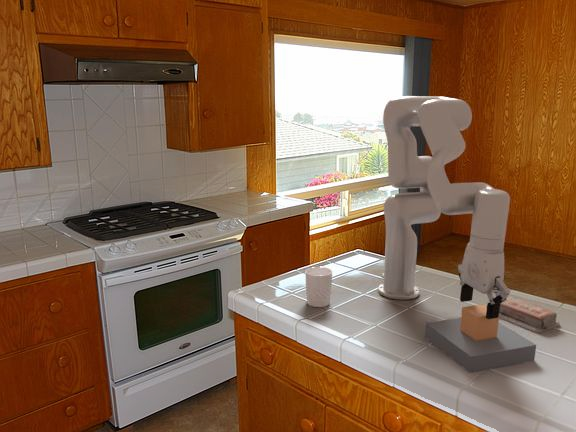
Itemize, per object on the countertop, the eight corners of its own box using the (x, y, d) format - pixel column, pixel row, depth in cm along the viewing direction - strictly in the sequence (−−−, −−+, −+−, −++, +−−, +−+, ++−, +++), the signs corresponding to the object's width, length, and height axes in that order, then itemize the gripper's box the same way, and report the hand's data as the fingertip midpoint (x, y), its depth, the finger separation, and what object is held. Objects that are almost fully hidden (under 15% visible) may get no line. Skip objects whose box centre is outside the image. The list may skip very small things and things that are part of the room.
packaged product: (562, 310, 137) (541, 318, 132) (560, 326, 138) (539, 336, 133) (503, 289, 152) (482, 295, 146) (501, 304, 153) (480, 311, 148)
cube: (460, 329, 126) (462, 307, 125) (480, 326, 128) (482, 304, 127) (475, 340, 121) (478, 317, 119) (496, 337, 122) (499, 313, 121)
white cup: (317, 310, 147) (318, 277, 145) (299, 302, 153) (299, 270, 151) (337, 303, 152) (337, 271, 150) (318, 295, 158) (319, 265, 155)
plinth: (424, 337, 131) (425, 322, 130) (483, 327, 136) (484, 313, 135) (469, 372, 114) (471, 356, 113) (534, 360, 120) (536, 344, 119)
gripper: (450, 232, 126) (444, 296, 131) (498, 255, 110) (489, 327, 115) (476, 230, 128) (469, 293, 133) (527, 252, 112) (516, 323, 117)
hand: (478, 309), depth 124 cm, fingers open, 9 cm apart
